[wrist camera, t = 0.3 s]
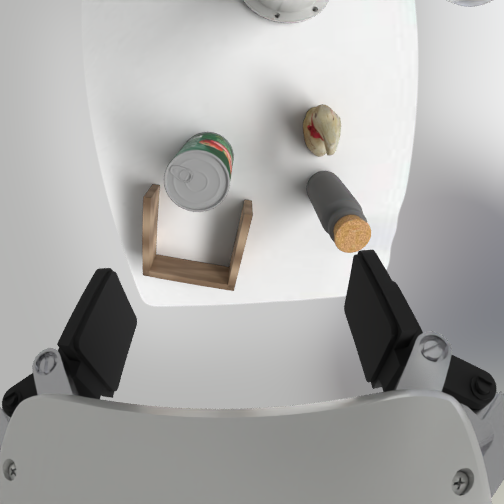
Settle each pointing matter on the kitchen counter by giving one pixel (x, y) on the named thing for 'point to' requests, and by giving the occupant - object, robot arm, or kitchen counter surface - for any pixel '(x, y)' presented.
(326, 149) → the chocolate bunny
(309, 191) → the bottle
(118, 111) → the kitchen counter surface
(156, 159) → the kitchen counter surface
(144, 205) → the box
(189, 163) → the canned tomato
